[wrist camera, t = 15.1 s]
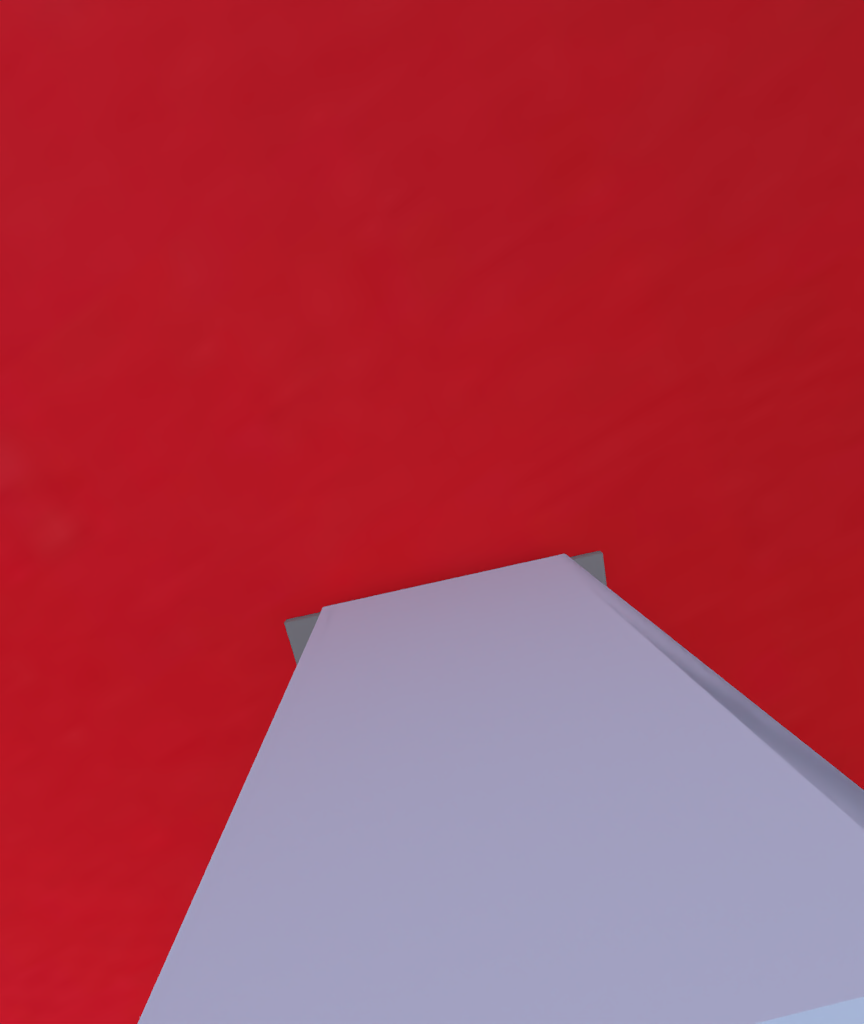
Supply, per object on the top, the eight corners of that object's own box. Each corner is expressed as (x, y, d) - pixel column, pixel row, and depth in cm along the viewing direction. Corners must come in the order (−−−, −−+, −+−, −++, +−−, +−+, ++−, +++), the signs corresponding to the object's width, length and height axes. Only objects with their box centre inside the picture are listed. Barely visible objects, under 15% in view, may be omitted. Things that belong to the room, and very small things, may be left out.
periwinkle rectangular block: (323, 606, 11) (60, 1198, 3) (565, 553, 11) (1062, 947, 3) (402, 884, 13) (398, 1726, 5) (606, 836, 13) (965, 1566, 5)
